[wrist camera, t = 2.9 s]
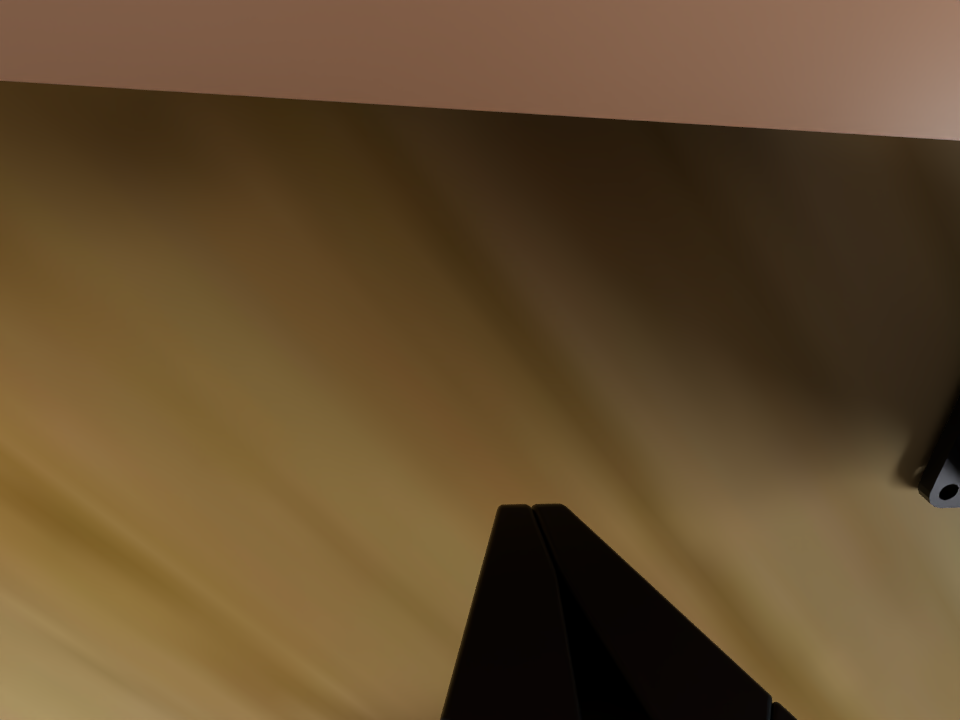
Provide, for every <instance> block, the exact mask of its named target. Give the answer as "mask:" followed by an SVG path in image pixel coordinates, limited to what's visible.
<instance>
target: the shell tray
mask: <svg viewBox="0 0 960 720" xmlns="http://www.w3.org/2000/svg"><path fill="white" fill-rule="evenodd" d="M0 81H14V82H30V83H46V84H62V85H78V86H94V87H110V88H126V89H142V90H158V91H174V92H190V93H206V94H222V95H238V96H254V97H270V98H286V99H302V100H318V101H334V102H350V103H366V104H382V105H398V106H414V107H430V108H446V109H462V110H478V111H494V112H510V113H526V114H542V115H558V116H574V117H590V118H606V119H622V120H638V121H654V122H670V123H686V124H702V125H718V126H734V127H750V128H766V129H782V130H798V131H814V132H830V133H846V134H862V135H879V136H895V137H911V138H927V139H943V140H959V141H960V0H0Z"/></svg>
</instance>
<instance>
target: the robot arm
mask: <svg viewBox="0 0 960 720" xmlns="http://www.w3.org/2000/svg"><path fill="white" fill-rule="evenodd" d="M918 491H919V494H920V495H922V496H923V497H924V498H925V499H926V500H927V501H928V502H929V503H931V504H932V505H933V506H934V507H939V508H955V507H960V396H959V398H958V400H957V402H956V404H955V406H954V409H953V411H952V413H951V415H950V417H949V419H948V422H947V424H946V426H945V428H944V430H943V432H942V434H941V437H940V439H939V441H938V443H937V445H936V447H935V450H934V452H933V454H932V456H931V458H930V460H929V463H928V465H927V467H926V469H925V471H924V473H923V475H922V478H921V480H920V482H919V486H918ZM440 720H797V719H796V718H795V717H794V716H793V715H792V714H791V713H790V712H788V711H787V710H786V709H785V708H784V707H783V706H782V705H781V704H780V703H778V702H774V703H772V697H771V695H770V694H769V693H767V692H766V691H765V690H764V689H763V688H762V687H761V686H760V685H759V684H758V683H757V682H756V681H754V680H753V679H752V678H751V677H750V676H749V675H748V674H747V673H746V672H745V671H744V670H743V669H741V668H740V667H739V666H738V665H737V664H736V663H735V662H734V661H733V660H732V659H731V658H730V657H729V656H727V655H726V654H725V653H724V652H723V651H722V650H721V649H720V648H719V647H718V646H717V645H716V644H714V643H713V642H712V641H711V640H710V639H709V638H708V637H707V636H706V635H705V634H704V633H703V632H701V631H700V630H699V629H698V628H697V627H696V626H695V625H694V624H693V623H692V622H691V621H690V620H688V619H687V618H686V617H685V616H684V615H683V614H682V613H681V612H680V611H679V610H678V609H677V608H675V607H674V606H673V605H672V604H671V603H670V602H669V601H668V600H667V599H666V598H665V597H664V596H662V595H661V594H660V593H659V592H658V591H657V590H656V589H655V588H654V587H653V586H652V585H651V584H650V583H648V582H647V581H646V580H645V579H644V578H643V577H642V576H641V575H640V574H639V573H638V572H637V571H635V570H634V569H633V568H632V567H631V566H630V565H629V564H628V563H627V562H626V561H625V560H624V559H622V558H621V557H620V556H619V555H618V554H617V553H616V552H615V551H614V550H613V549H612V548H611V547H609V546H608V545H607V544H606V543H605V542H604V541H603V540H602V539H601V538H600V537H599V536H598V535H596V534H595V533H594V532H593V531H592V530H591V529H590V528H589V527H588V526H587V525H586V524H585V523H583V522H582V521H581V520H580V519H579V518H578V517H577V516H576V515H575V514H574V513H573V512H572V511H571V510H569V509H568V508H567V507H566V506H564V505H563V504H535V505H533V506H532V507H530V506H528V505H526V504H508V505H501V506H499V507H498V509H497V513H496V516H495V520H494V524H493V527H492V531H491V535H490V538H489V542H488V546H487V549H486V553H485V557H484V560H483V564H482V568H481V571H480V575H479V579H478V582H477V586H476V590H475V593H474V597H473V601H472V604H471V608H470V612H469V615H468V619H467V623H466V626H465V630H464V634H463V637H462V641H461V645H460V648H459V652H458V656H457V659H456V663H455V667H454V670H453V674H452V678H451V681H450V685H449V689H448V692H447V696H446V700H445V703H444V707H443V711H442V714H441V718H440Z"/></svg>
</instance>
